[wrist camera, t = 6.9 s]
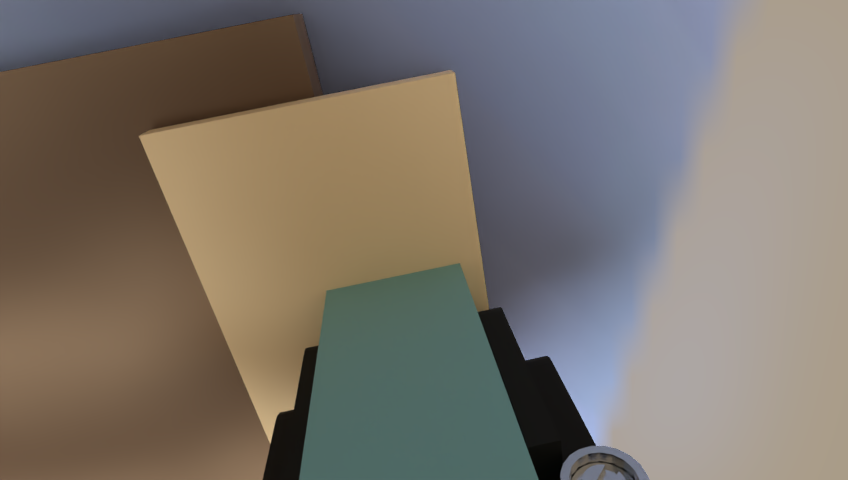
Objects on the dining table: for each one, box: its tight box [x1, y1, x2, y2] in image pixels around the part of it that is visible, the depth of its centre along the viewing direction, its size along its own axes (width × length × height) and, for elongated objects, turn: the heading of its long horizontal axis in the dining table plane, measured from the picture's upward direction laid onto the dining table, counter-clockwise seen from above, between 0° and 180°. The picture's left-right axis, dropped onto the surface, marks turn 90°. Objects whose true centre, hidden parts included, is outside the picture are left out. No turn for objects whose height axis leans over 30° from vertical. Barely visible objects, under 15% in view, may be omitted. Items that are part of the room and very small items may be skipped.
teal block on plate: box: [139, 70, 539, 480], centre depth 10 cm, size 13×6×6 cm, turn 10°
